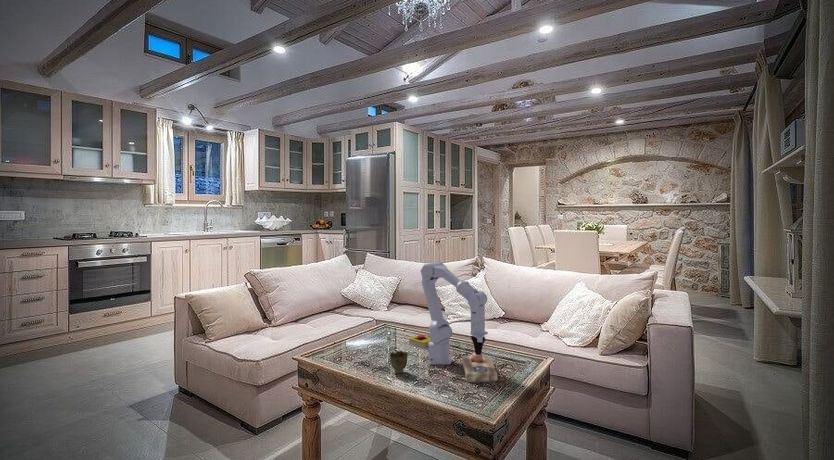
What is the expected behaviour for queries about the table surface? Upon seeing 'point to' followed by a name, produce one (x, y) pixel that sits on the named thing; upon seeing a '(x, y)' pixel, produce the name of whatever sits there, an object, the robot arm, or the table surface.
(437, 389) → the table surface
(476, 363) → the button panel
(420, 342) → the emergency button
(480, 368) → the grey button
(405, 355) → the cup
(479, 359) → the terracotta button
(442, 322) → the robot arm
